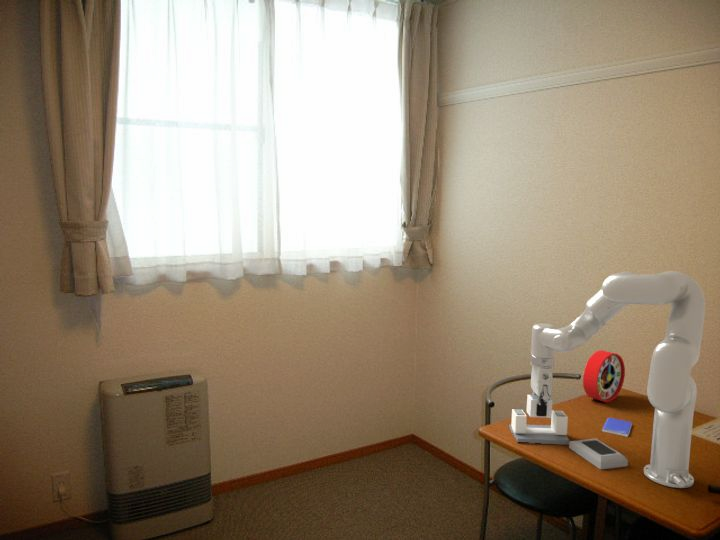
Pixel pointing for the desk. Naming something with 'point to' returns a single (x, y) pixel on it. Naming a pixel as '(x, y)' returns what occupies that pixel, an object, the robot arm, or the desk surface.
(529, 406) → the module block
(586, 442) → the grey bevelled device
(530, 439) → the board
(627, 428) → the hard drive
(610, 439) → the desk surface
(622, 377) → the toy clock
